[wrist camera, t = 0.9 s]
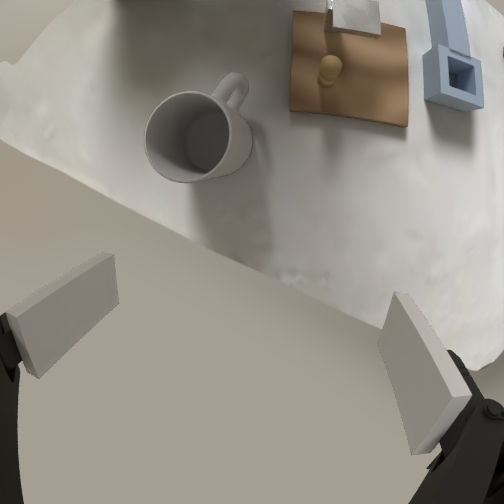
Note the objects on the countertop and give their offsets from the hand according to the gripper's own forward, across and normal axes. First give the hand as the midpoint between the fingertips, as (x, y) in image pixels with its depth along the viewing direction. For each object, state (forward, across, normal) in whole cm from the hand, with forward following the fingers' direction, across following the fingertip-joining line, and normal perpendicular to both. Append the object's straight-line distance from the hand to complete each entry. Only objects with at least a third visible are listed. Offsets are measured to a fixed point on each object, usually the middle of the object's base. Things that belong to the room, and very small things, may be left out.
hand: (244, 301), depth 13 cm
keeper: (+23, +6, +22) cm, 32 cm away
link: (+24, +20, +26) cm, 40 cm away
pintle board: (+24, +7, +19) cm, 31 cm away
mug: (+24, -7, +9) cm, 27 cm away
